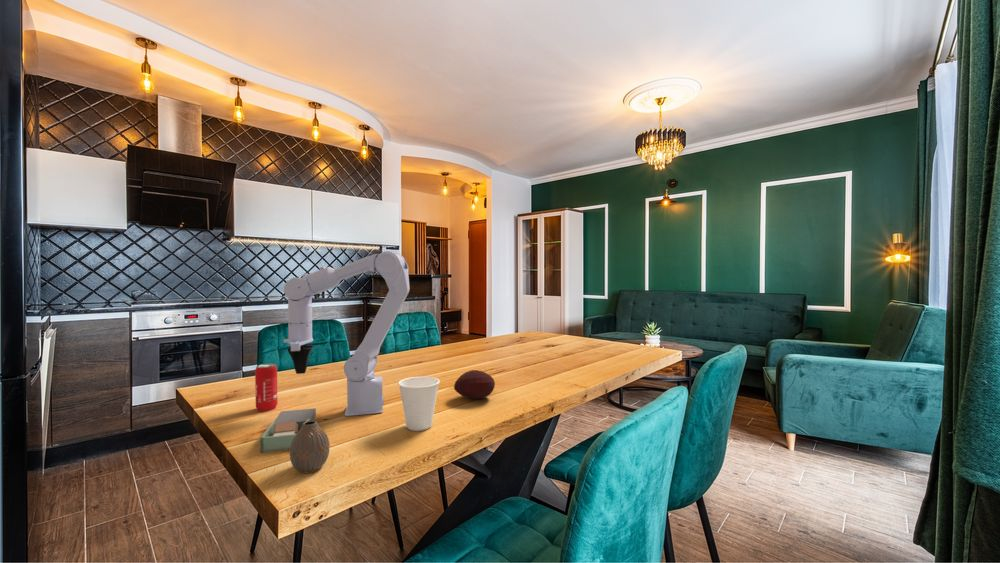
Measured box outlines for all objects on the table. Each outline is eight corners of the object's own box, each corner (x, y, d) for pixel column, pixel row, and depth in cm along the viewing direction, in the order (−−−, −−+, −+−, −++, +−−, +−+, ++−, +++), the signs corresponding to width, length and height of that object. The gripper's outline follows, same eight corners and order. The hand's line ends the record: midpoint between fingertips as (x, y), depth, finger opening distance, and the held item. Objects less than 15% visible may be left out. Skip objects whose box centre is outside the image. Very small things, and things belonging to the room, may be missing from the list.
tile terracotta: (297, 433, 92) (298, 425, 93) (294, 429, 89) (295, 421, 90) (278, 435, 91) (279, 427, 92) (274, 432, 88) (275, 423, 89)
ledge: (315, 417, 103) (315, 408, 103) (310, 431, 94) (309, 420, 94) (281, 421, 101) (281, 411, 101) (272, 435, 92) (271, 424, 92)
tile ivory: (291, 437, 86) (291, 445, 86) (295, 430, 89) (295, 438, 89) (270, 439, 84) (270, 448, 84) (275, 432, 88) (275, 440, 88)
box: (310, 431, 94) (309, 418, 94) (302, 448, 85) (302, 434, 85) (272, 435, 92) (271, 422, 92) (260, 452, 83) (260, 438, 83)
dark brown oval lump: (502, 398, 119) (502, 370, 119) (475, 408, 111) (475, 378, 111) (475, 391, 127) (475, 364, 127) (448, 399, 118) (448, 371, 118)
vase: (281, 473, 75) (280, 426, 74) (310, 457, 81) (310, 414, 81) (309, 480, 72) (308, 431, 72) (337, 463, 79) (337, 418, 78)
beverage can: (267, 412, 107) (267, 368, 107) (251, 411, 108) (250, 367, 108) (281, 406, 112) (281, 363, 112) (265, 405, 113) (265, 362, 113)
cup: (446, 421, 100) (446, 378, 100) (427, 437, 91) (427, 389, 91) (412, 417, 104) (412, 374, 103) (389, 431, 94) (389, 385, 94)
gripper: (289, 320, 113) (290, 367, 114) (277, 326, 99) (277, 381, 100) (316, 319, 115) (317, 366, 116) (308, 325, 101) (308, 378, 102)
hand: (300, 373), depth 108 cm, fingers closed
